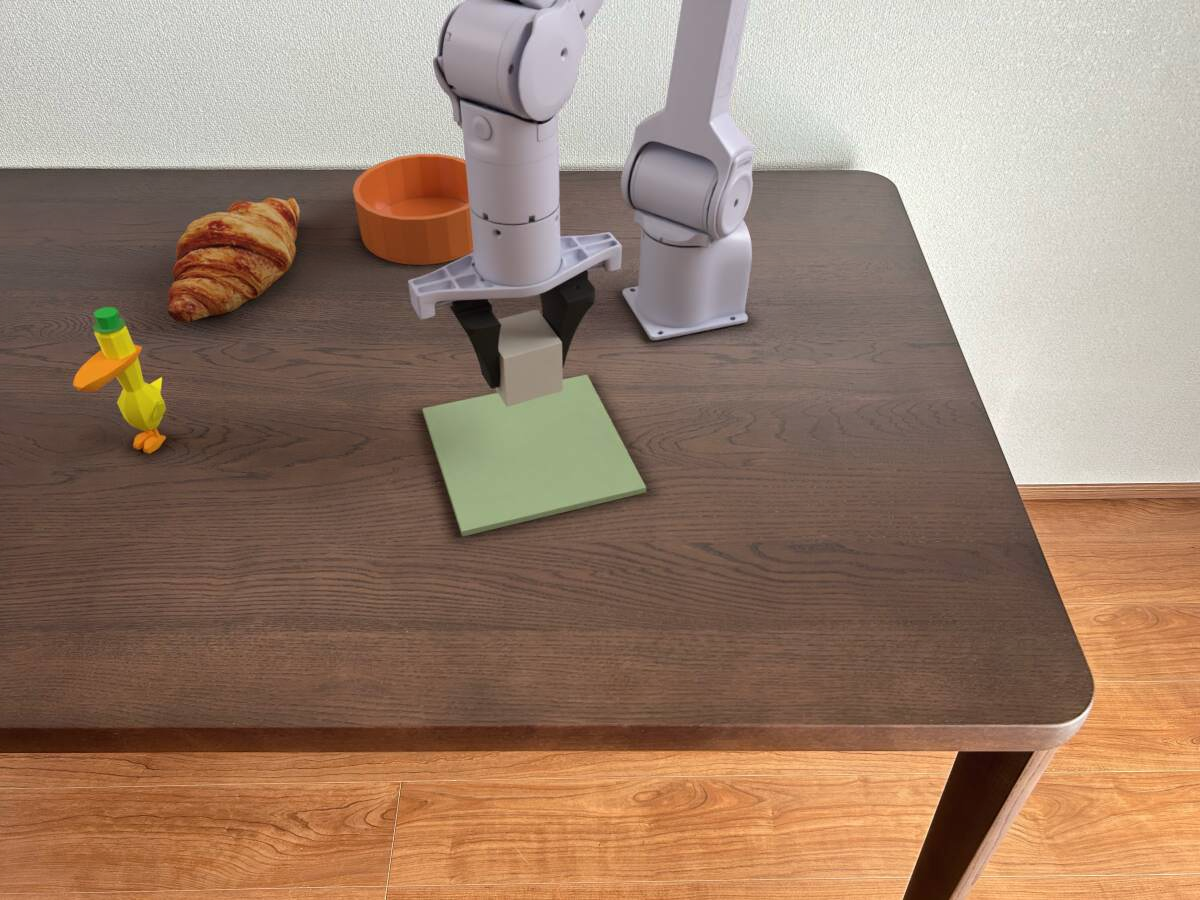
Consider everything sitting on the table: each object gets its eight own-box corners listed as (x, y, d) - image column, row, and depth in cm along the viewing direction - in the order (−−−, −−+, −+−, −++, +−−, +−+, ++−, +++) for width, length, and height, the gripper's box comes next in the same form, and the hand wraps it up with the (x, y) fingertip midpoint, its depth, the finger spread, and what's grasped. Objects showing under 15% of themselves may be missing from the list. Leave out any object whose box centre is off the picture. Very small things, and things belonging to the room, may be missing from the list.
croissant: (278, 244, 103) (230, 178, 99) (348, 215, 98) (301, 145, 94) (166, 361, 88) (104, 289, 83) (244, 333, 83) (182, 255, 79)
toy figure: (135, 479, 73) (78, 352, 64) (98, 465, 74) (37, 338, 65) (195, 424, 77) (149, 298, 69) (160, 412, 78) (110, 287, 70)
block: (539, 356, 73) (537, 308, 70) (563, 390, 70) (562, 342, 67) (484, 372, 72) (480, 323, 69) (506, 407, 69) (503, 358, 66)
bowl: (474, 189, 105) (470, 146, 102) (505, 252, 96) (503, 206, 93) (352, 208, 102) (344, 164, 99) (372, 274, 93) (364, 228, 90)
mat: (586, 379, 82) (587, 374, 81) (646, 492, 72) (646, 487, 72) (423, 413, 78) (422, 407, 78) (462, 537, 69) (461, 531, 68)
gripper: (591, 153, 66) (590, 316, 75) (384, 196, 61) (410, 365, 71) (638, 200, 61) (631, 368, 71) (419, 251, 57) (442, 423, 66)
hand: (523, 370), depth 70 cm, fingers closed on block, 4 cm apart
